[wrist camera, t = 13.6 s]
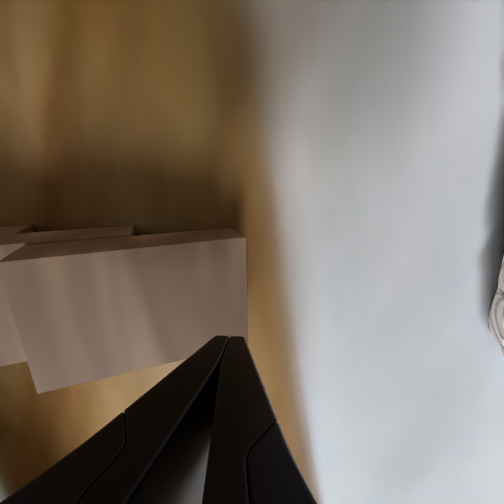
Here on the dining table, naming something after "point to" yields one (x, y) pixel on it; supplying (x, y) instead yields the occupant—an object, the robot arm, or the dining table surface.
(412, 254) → the dining table surface
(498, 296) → the cookie jar
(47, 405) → the dining table surface
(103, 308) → the domino
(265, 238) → the dining table surface
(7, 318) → the domino
